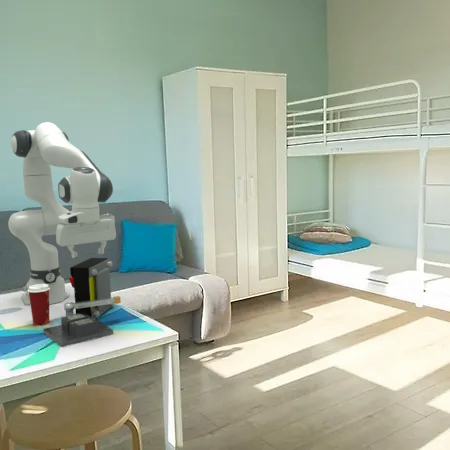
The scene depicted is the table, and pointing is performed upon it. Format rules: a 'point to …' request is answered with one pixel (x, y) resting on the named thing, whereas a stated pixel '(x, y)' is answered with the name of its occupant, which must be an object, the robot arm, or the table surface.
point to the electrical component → (92, 284)
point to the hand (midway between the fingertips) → (88, 255)
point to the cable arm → (91, 303)
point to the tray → (71, 339)
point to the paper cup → (39, 303)
